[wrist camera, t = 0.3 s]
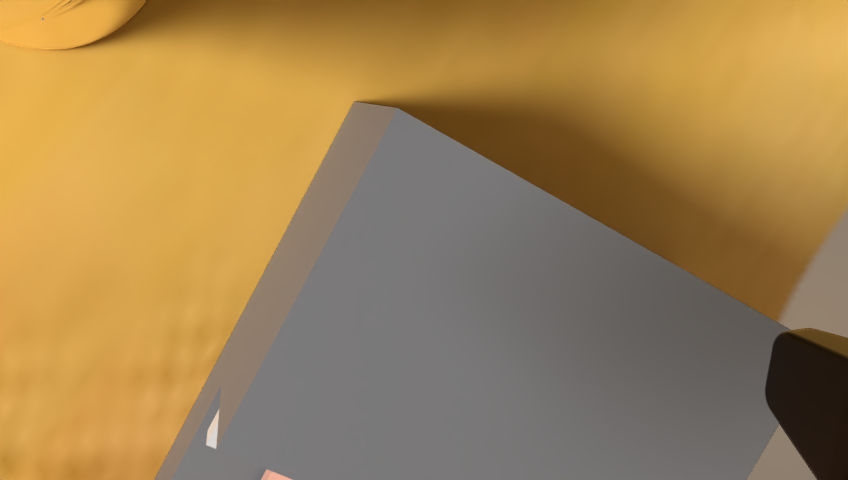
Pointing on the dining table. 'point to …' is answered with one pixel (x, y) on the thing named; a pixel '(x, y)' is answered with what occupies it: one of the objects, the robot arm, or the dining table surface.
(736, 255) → the dining table surface
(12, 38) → the beer glass
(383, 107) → the grey slotted box
